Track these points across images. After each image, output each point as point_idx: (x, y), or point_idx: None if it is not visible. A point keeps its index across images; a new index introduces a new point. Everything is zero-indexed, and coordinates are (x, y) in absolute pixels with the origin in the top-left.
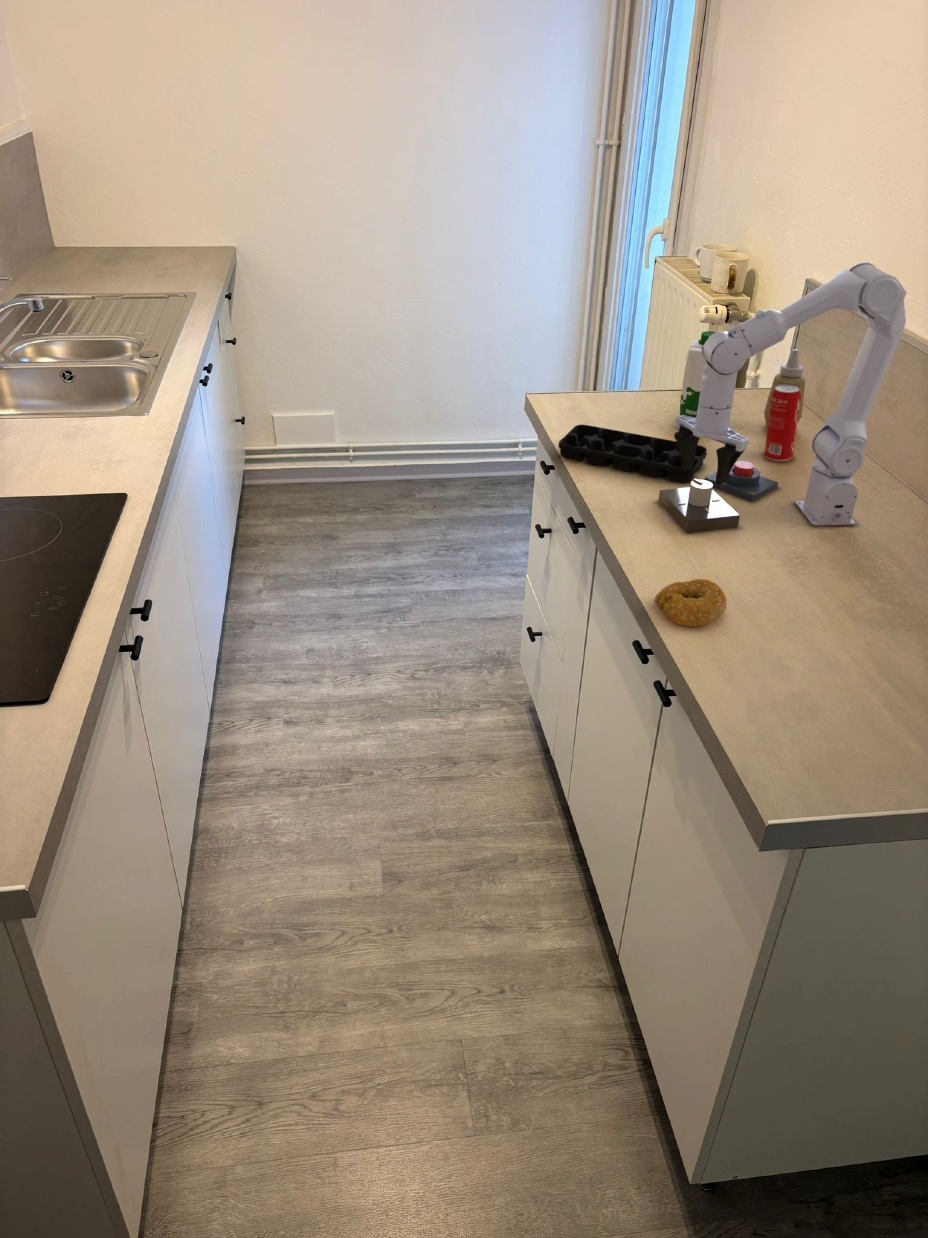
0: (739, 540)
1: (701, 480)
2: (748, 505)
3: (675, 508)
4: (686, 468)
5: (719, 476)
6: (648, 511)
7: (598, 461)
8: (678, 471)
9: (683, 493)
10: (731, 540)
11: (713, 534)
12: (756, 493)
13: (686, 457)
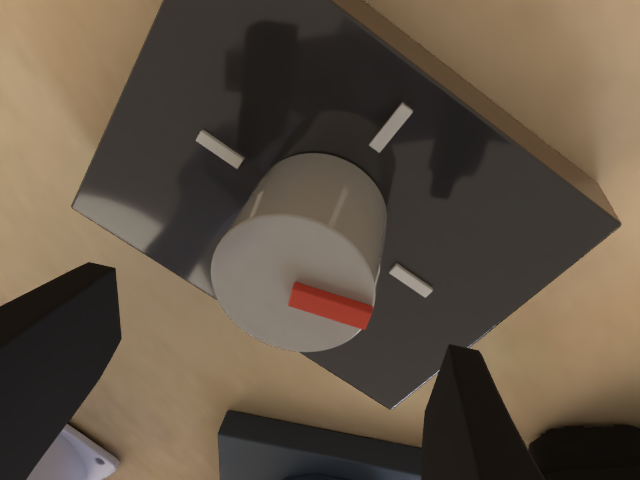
0: (16, 57)
1: (327, 336)
2: (221, 381)
3: (404, 52)
4: (445, 368)
5: (27, 296)
6: (610, 26)
7: None
8: (600, 470)
9: (455, 265)
10: (35, 27)
11: (136, 23)
12: (219, 451)
13: (459, 455)
